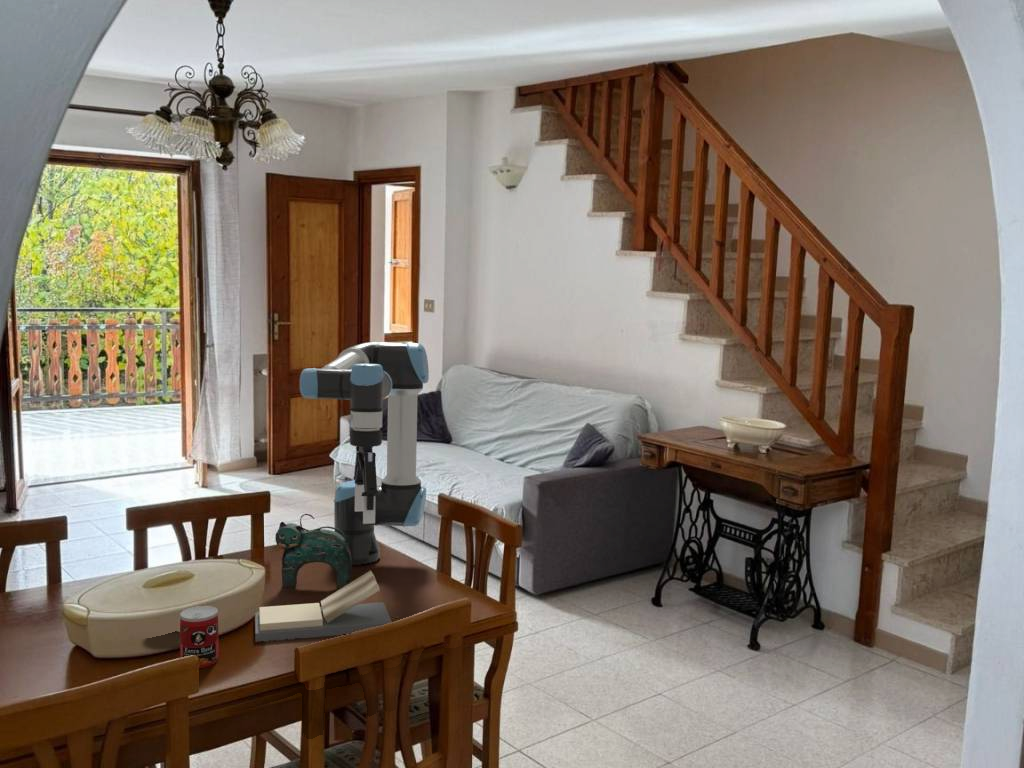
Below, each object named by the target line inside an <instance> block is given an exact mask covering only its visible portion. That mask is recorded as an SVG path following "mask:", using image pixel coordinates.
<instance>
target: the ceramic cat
mask: <svg viewBox="0 0 1024 768" xmlns="http://www.w3.org/2000/svg"><path fill="white" fill-rule="evenodd" d="M304 516H309V517H311V518H312V519H313V520H314V519H315V517H314V516H313V515H312V514H309V513H304V514H302V515H301V516H300V519H299V520H300V521H299V524H296V523H293V522H289V523H285V522H284V521H281V522H280V523H279V527H278V530H276V533H275V538H274V540H275V543H276V545H277V547H279V548H281V549H283V554H282V556H281V557H282V558H281V586H282V587H281V588H282V589H293V588H295V587H296V585H297V581H298V579H297V578H298V573H299V571H300V570H301V568H302V567H303V566H305V565H307V564H311V563H312V564H313V563H321V564H326V565H329V566H331V568H332V570H333V571H334V574H335V578H336V585H337V588H338V589H341V588H343V587H344V586H346V585H348V584H349V583H351V576H352V575H351V574H352V567H353V566H352V559H351V553H350V549H349V546H348V544H347V539H346V536H345V534H344V533H343V532H342V531H341V530H340V529H337V528H335V526H334V527H333V526H321V527H318V528H315V529H306V528H305V527H303V526H302V525H303V524H302V518H303V517H304ZM330 529H331V530H330ZM335 530H338V531H339V532H341V533H342V534H343V535H344V537H345V539H346V540H345V539H344V538H343V537H342V536H341V535H340V534H338V533H337V532H335Z"/></svg>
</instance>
